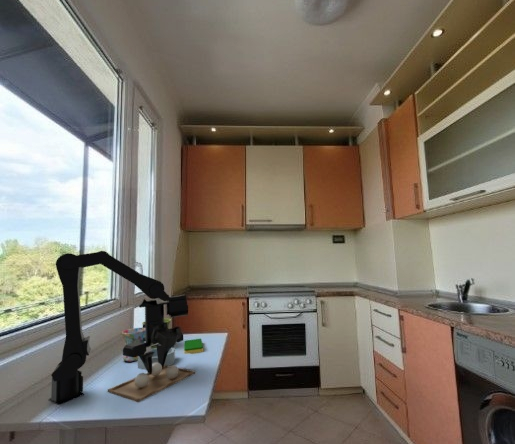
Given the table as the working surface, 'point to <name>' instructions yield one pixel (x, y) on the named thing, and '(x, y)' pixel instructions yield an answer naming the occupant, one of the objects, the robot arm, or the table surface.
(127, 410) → the table surface
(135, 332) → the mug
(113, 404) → the table surface
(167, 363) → the bowl
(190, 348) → the dish sponge
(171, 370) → the pebble
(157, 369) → the white ball
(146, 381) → the pebble
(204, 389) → the table surface
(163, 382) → the tray
